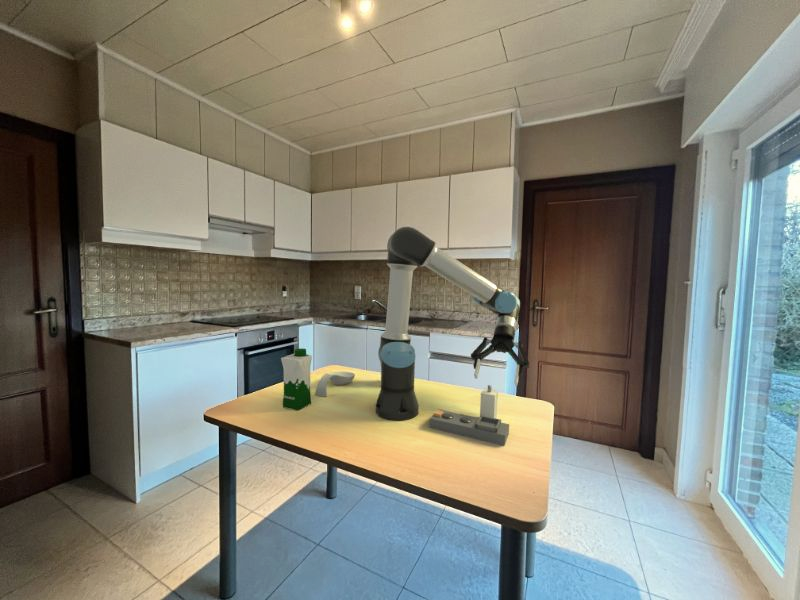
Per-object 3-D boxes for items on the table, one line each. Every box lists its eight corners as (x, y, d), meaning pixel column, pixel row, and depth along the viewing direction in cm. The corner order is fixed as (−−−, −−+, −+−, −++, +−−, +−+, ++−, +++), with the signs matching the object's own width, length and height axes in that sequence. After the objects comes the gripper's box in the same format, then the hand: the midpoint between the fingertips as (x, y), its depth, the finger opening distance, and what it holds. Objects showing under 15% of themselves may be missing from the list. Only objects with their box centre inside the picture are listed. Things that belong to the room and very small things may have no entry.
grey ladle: (335, 377, 154) (335, 362, 153) (358, 380, 150) (359, 364, 150) (307, 395, 131) (307, 377, 130) (334, 399, 128) (334, 381, 127)
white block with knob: (479, 422, 110) (481, 386, 109) (482, 416, 114) (484, 382, 113) (493, 425, 108) (495, 389, 107) (496, 419, 112) (498, 384, 111)
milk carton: (314, 402, 123) (314, 349, 121) (298, 412, 115) (298, 355, 113) (295, 399, 126) (295, 347, 125) (278, 407, 118) (277, 352, 116)
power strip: (429, 427, 105) (429, 414, 105) (438, 417, 113) (438, 405, 112) (504, 445, 95) (505, 431, 95) (508, 433, 102) (509, 420, 102)
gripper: (540, 339, 124) (534, 391, 112) (474, 332, 135) (461, 379, 123) (540, 327, 119) (533, 380, 107) (471, 321, 130) (458, 368, 118)
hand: (495, 380), depth 115 cm, fingers open, 13 cm apart
